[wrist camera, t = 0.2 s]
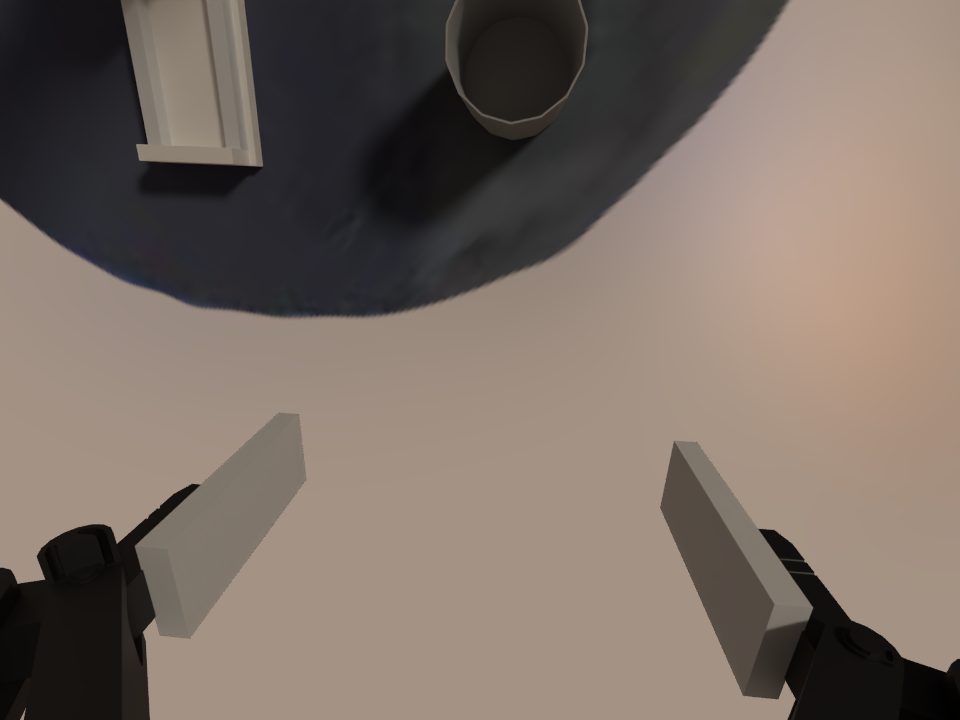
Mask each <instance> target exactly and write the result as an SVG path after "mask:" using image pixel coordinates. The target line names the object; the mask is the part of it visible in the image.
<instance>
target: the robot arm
mask: <svg viewBox="0 0 960 720" xmlns="http://www.w3.org/2000/svg"><path fill="white" fill-rule="evenodd" d="M305 481H306V472H305V463H304V454H303V445H302V437H301V427H300V418H299V414H287V413H278V414H277V415H276V416H274V417H273V418H272V419H271V420H270V421H269V422H268V423H267V424H266V425H265V426H264V427H263V428H262V429H260V430H259V431H258V432H257V433H256V434H255V435H254V436H253V437H252V438H251V439H250V440H249V441H247V442H246V443H245V444H244V445H243V446H242V447H241V448H240V449H239V450H238V451H237V452H236V453H235V454H233V455H232V456H231V457H230V458H229V459H228V460H227V461H226V462H225V463H224V464H223V465H222V466H221V467H219V468H218V469H217V470H216V471H215V472H214V473H213V474H212V475H211V476H210V477H209V478H208V479H207V480H205V482H203V483H202V484H201V485H199V484H191V485H189V486H188V487H186V488H184V489H182V490H180V491H178V492H177V493H175V494H173V495H172V496H171V497H170V498H169V499H168V500H166V501H165V502H164V503H163V504H162V505H161V506H160V508H159V509H156V510H155V511H154V512H153V513H152V514H150V515H149V517H148V519H145V520H144V521H142V522H141V523H140V524H139V525H138V526H137V527H136V528H135V529H134V530H132V531H131V532H130V533H129V534H128V535H127V536H126V537H124V538H123V539H122V540H121V541H120V542H119V543H118V544H117V543H116V540H115V537H114V533H113V531H112V529H111V527H108V526H106V525H100V524H92V525H87V526H83V527H78V528H75V529H73V530H70V531H67V532H65V533H63V534H61V535H59V536H57V537H55V538H54V539H52V540H50V541H49V542H48V543H47V544H46V545H45V546H44V547H42V548H41V550H40V551H39V553H38V555H37V559H38V561H39V564H40V567H41V569H42V572H43V574H44V577H45V580H40V581H34V582H27V583H20V584H17V581H16V579H15V576H14V574H13V573H12V571H11V570H9V569H5V568H0V720H20V719H21V717H22V715H23V712H24V710H25V708H26V710H25V716H24V720H150V716H149V696H148V677H147V658H146V641H145V638H144V634H143V631H144V630H145V629H146V628H147V626H148V625H149V624H150V623H151V622H152V620H153V619H154V618H155V620H156V623H157V627H158V631H159V634H160V636H169V637H179V638H189V639H190V638H191V636H192V635H193V633H194V632H195V631H196V629H197V628H198V626H199V625H200V624H201V622H202V621H203V620H204V618H205V617H206V616H207V614H208V613H209V611H210V610H211V609H212V607H213V606H214V605H215V603H216V602H217V601H218V599H219V598H220V597H221V595H222V594H223V592H224V591H225V590H226V588H227V587H228V586H229V584H230V583H231V582H232V580H233V579H234V578H235V576H236V575H237V573H238V572H239V571H240V569H241V568H242V567H243V565H244V564H245V563H246V561H247V560H248V558H249V557H250V556H251V554H252V553H253V552H254V550H255V549H256V548H257V546H258V545H259V543H260V542H261V541H262V539H263V538H264V537H265V535H266V534H267V533H268V531H269V530H270V528H271V527H272V526H273V524H274V523H275V522H276V520H277V519H278V518H279V516H280V515H281V513H282V512H283V511H284V509H285V508H286V507H287V505H288V504H289V503H290V501H291V500H292V498H293V497H294V496H295V494H296V493H297V491H298V490H299V489H300V488H301V486H302V485H303V483H304V482H305ZM660 508H661V510H662V513H663V515H664V517H665V520H666V522H667V524H668V526H669V529H670V531H671V533H672V535H673V538H674V540H675V542H676V544H677V547H678V549H679V551H680V553H681V556H682V558H683V560H684V562H685V565H686V567H687V569H688V572H689V574H690V576H691V578H692V580H693V583H694V585H695V588H696V590H697V592H698V594H699V597H700V598H701V601H702V603H703V606H704V608H705V610H706V612H707V615H708V617H709V619H710V621H711V623H712V626H713V628H714V631H715V633H716V635H717V637H718V639H719V642H720V644H721V646H722V649H723V651H724V653H725V655H726V658H727V660H728V662H729V664H730V667H731V669H732V671H733V673H734V676H735V678H736V680H737V683H738V685H739V687H740V689H741V692H742V694H743V696H752V697H761V698H771V699H779V696H780V693H781V691H782V688H783V685H784V683H785V680H786V682H787V684H788V686H789V688H790V690H791V691H792V693H793V695H794V697H795V699H796V700H795V702H794V705H793V707H792V710H791V713H790V715H789V717H788V720H960V659H957V660H956V661H954V662H953V663H952V664H951V666H950V667H949V669H948V671H947V673H946V672H943V671H940V670H937V669H934V668H931V667H928V666H925V665H922V664H919V663H916V662H913V661H910V660H907V659H905V658H902V657H901V656H900V654H899V653H898V652H897V650H896V649H895V648H894V647H893V646H892V645H891V644H890V643H889V642H888V641H887V640H886V639H885V638H883V636H881V635H879V634H878V633H876V632H875V631H873V630H871V629H870V628H868V627H866V626H864V625H861V624H859V623H856V622H854V621H851V620H850V618H849V617H848V616H847V614H846V613H845V612H844V610H843V609H842V608H841V607H840V605H839V604H838V603H837V601H836V600H835V599H834V597H833V596H832V595H831V594H830V592H829V591H828V590H827V588H826V587H825V586H824V584H823V583H822V582H821V581H820V579H819V578H818V577H817V576H815V575H814V571H813V570H812V569H811V568H810V566H809V565H808V564H807V563H805V562H804V558H803V557H802V556H801V555H800V553H799V552H798V551H797V549H796V548H795V547H794V545H793V544H792V543H790V542H789V541H788V540H787V539H785V538H784V537H783V536H781V535H780V534H779V533H777V532H776V531H775V530H766V529H758V528H757V527H756V526H755V524H754V523H753V521H752V520H751V519H750V517H749V516H748V514H747V513H746V511H745V510H744V508H743V507H742V506H741V504H740V503H739V502H738V500H737V498H736V497H735V496H734V494H733V493H732V492H731V490H730V488H729V487H728V486H727V484H726V483H725V481H724V480H723V478H722V477H721V476H720V474H719V473H718V471H717V470H716V469H715V467H714V466H713V464H712V463H711V461H710V460H709V458H708V457H707V456H706V454H705V453H704V451H703V450H702V449H701V447H700V446H699V444H698V443H697V442H683V441H674V444H673V449H672V454H671V459H670V464H669V468H668V474H667V478H666V483H665V488H664V492H663V497H662V502H661V507H660Z"/></svg>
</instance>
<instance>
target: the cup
mask: <svg viewBox="0 0 960 720" xmlns="http://www.w3.org/2000/svg"><path fill="white" fill-rule="evenodd" d="M587 35H588V24H587V21H586V18H585V14H584V11H583V8H582V4H581V1H580V0H456V1H455V3H454V6H453V8H452V11H451V13H450V15H449V18H448V20H447V22H446V63H447V66H448V68H449V71H450V73H451V76H452V79H453V81H454V84H455V86H456V89H457V91H458V94H459V95H460V97H461V98H462V100H463V102H464V103H465V105H466V106H467V108H468V109H469V111H470V113H471V114H472V116H473V117H474V118H475V119H476V120H477V121H478V122H479V123H480V124H481V125H482V126H483V127H484V128H485V129H486V130H487V131H488V132H489V133H490V134H493V135H496V136H500V137H503V138H506V139H510V140H517V139H522V138H527V137H531V136H536V135H537V134H538V133H540V132H541V131H542V130H543V129H545V128H546V127H547V126H549V125H550V124H551V123H552V122H554V121H555V120H556V118H557V116H558V114H559V112H560V110H561V108H562V107H563V105H564V103H565V101H566V99H567V97H568V95H569V93H570V91H571V89H572V88H573V86H574V84H575V82H576V80H577V78H578V76H579V74H580V72H581V70H582V68H583V66H584V63H585V54H586V44H587Z"/></svg>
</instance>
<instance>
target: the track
mask: <svg viewBox="0 0 960 720" xmlns="http://www.w3.org/2000/svg"><path fill="white" fill-rule="evenodd" d="M121 4H122V9H123V15H124V20H125V25H126V30H127V36H128V41H129V46H130V52H131V57H132V62H133V67H134V73H135V78H136V83H137V88H138V94H139V99H140V104H141V109H142V115H143V120H144V125H145V130H146V136H147V141H148V145H145V144H136V146H137V151H138V156H139V160H140V161H153V162H163V163H187V164H211V165H236V166H260V167H263V162H262V153H261V144H260V136H259V127H258V118H257V109H256V100H255V92H254V83H253V74H252V65H251V56H250V47H249V39H248V30H247V21H246V12H245V3H244V0H121Z"/></svg>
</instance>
